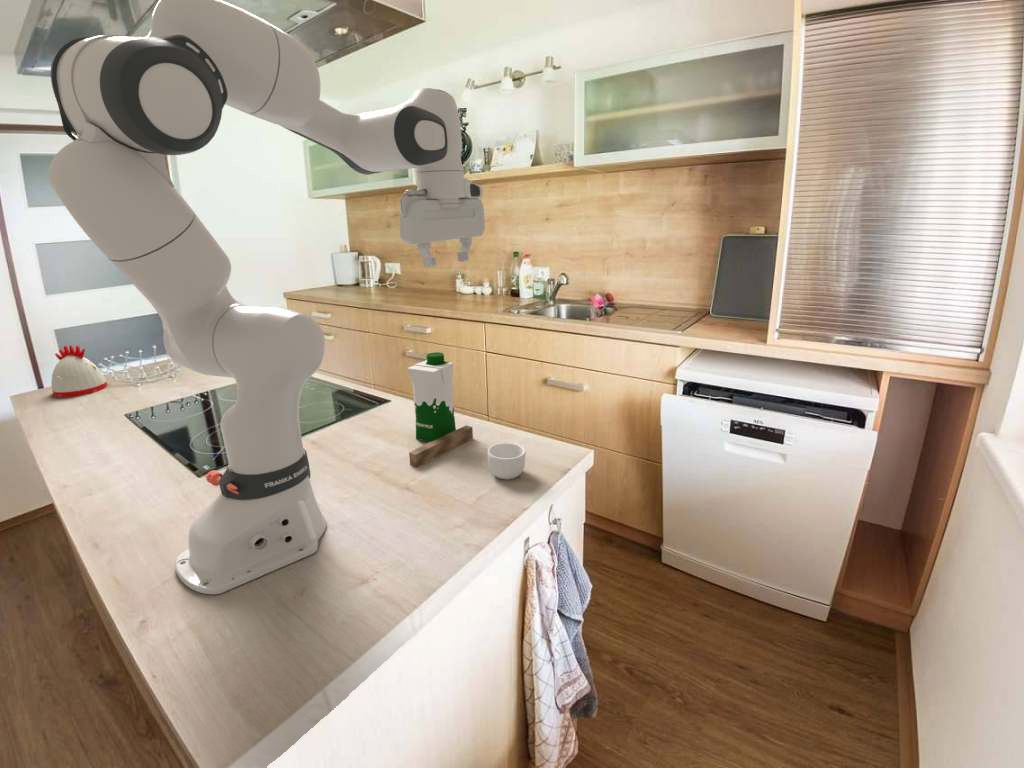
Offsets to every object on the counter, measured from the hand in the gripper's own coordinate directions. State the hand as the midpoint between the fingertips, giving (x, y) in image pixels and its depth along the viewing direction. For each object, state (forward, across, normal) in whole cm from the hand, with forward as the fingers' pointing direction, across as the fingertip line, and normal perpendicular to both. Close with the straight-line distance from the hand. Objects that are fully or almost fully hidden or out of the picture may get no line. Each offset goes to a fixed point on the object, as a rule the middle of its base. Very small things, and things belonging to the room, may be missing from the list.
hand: (447, 264), depth 101 cm
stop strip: (+42, -1, +5) cm, 42 cm away
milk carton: (+42, +4, +12) cm, 44 cm away
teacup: (+42, -2, -13) cm, 44 cm away
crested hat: (+42, -34, +137) cm, 147 cm away
